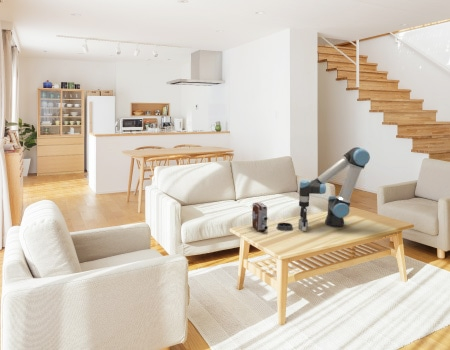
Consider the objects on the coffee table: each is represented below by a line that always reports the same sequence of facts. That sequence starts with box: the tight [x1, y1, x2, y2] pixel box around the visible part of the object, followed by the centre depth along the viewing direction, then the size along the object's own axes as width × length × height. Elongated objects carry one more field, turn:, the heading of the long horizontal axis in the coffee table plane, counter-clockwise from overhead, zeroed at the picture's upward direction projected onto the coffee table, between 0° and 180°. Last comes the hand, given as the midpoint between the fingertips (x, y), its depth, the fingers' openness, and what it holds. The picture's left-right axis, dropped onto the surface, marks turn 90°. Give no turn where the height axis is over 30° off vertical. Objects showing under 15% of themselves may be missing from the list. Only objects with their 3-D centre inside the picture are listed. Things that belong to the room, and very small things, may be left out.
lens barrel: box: [276, 222, 294, 232], centre depth 305 cm, size 13×13×3 cm
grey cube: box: [297, 218, 309, 231], centre depth 304 cm, size 7×7×7 cm
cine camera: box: [251, 202, 269, 232], centre depth 300 cm, size 9×19×20 cm, turn 15°
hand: (302, 227), depth 305 cm, fingers open, 13 cm apart
